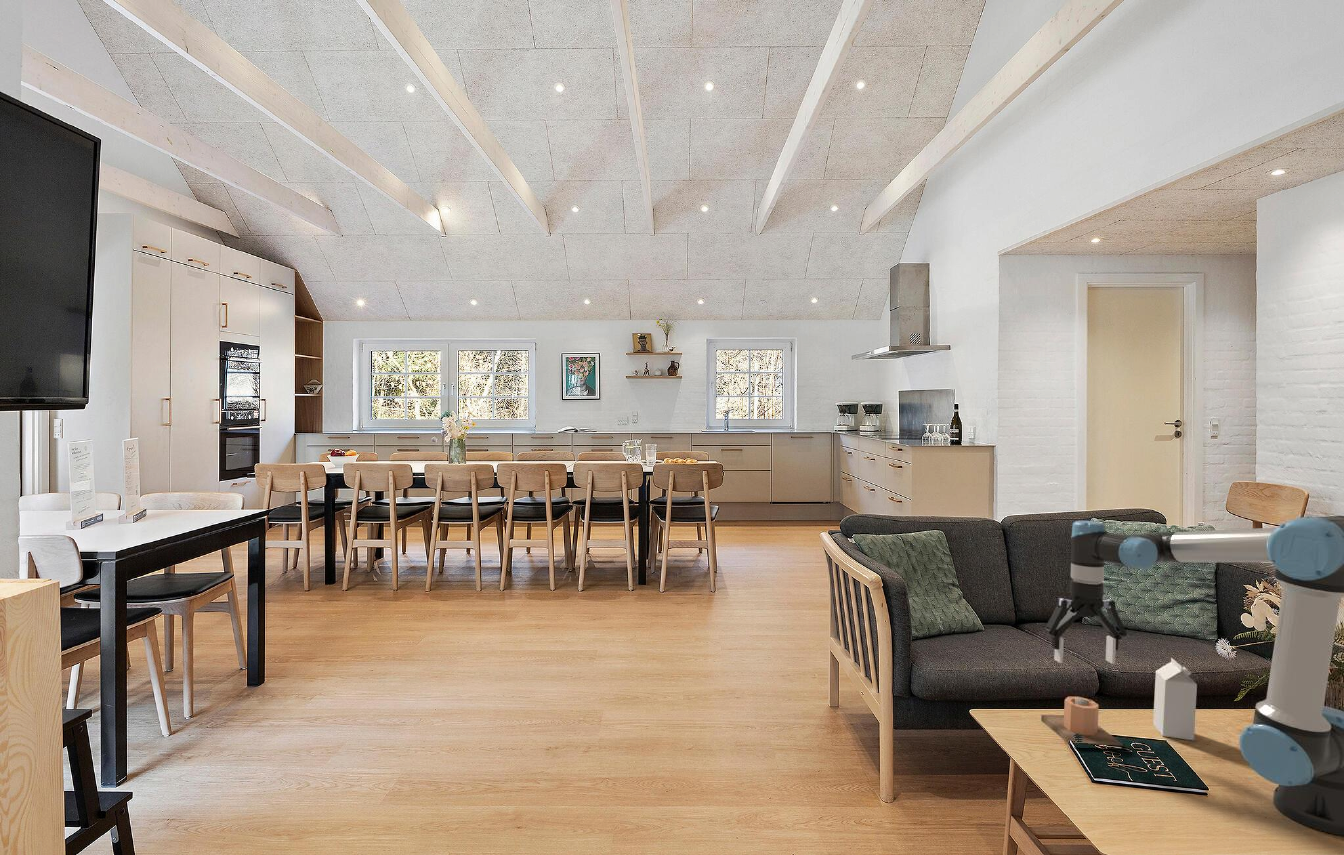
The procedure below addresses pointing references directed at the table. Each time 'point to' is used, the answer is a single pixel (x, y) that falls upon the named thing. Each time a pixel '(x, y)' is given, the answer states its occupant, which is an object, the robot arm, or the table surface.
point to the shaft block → (1058, 726)
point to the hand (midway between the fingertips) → (1084, 661)
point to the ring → (1081, 716)
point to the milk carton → (1175, 702)
